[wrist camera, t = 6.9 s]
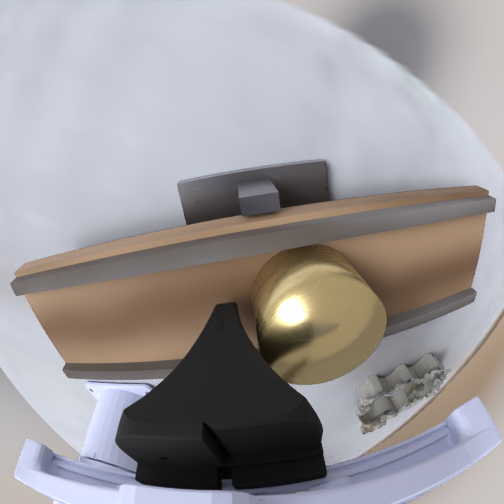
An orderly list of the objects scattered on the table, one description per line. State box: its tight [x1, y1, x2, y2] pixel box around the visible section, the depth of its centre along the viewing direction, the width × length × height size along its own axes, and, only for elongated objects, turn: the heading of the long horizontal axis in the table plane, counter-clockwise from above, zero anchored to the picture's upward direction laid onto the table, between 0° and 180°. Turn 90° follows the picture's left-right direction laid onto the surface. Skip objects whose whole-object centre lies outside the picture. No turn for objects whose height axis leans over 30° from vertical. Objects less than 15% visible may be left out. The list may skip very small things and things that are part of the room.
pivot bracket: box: [177, 159, 328, 225], centre depth 15 cm, size 11×8×4 cm
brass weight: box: [251, 244, 387, 385], centre depth 11 cm, size 5×5×4 cm
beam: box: [10, 186, 496, 380], centre depth 13 cm, size 8×28×2 cm, turn 99°
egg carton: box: [354, 353, 451, 434], centre depth 23 cm, size 11×8×4 cm
